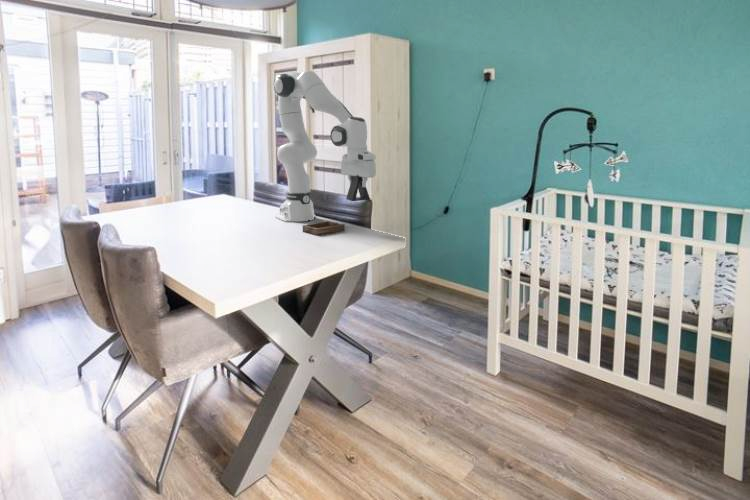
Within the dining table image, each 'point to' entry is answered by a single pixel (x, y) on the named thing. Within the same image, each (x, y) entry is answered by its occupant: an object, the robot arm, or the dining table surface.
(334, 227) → the walnut tray
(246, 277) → the dining table surface
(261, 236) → the dining table surface
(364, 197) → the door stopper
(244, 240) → the dining table surface
